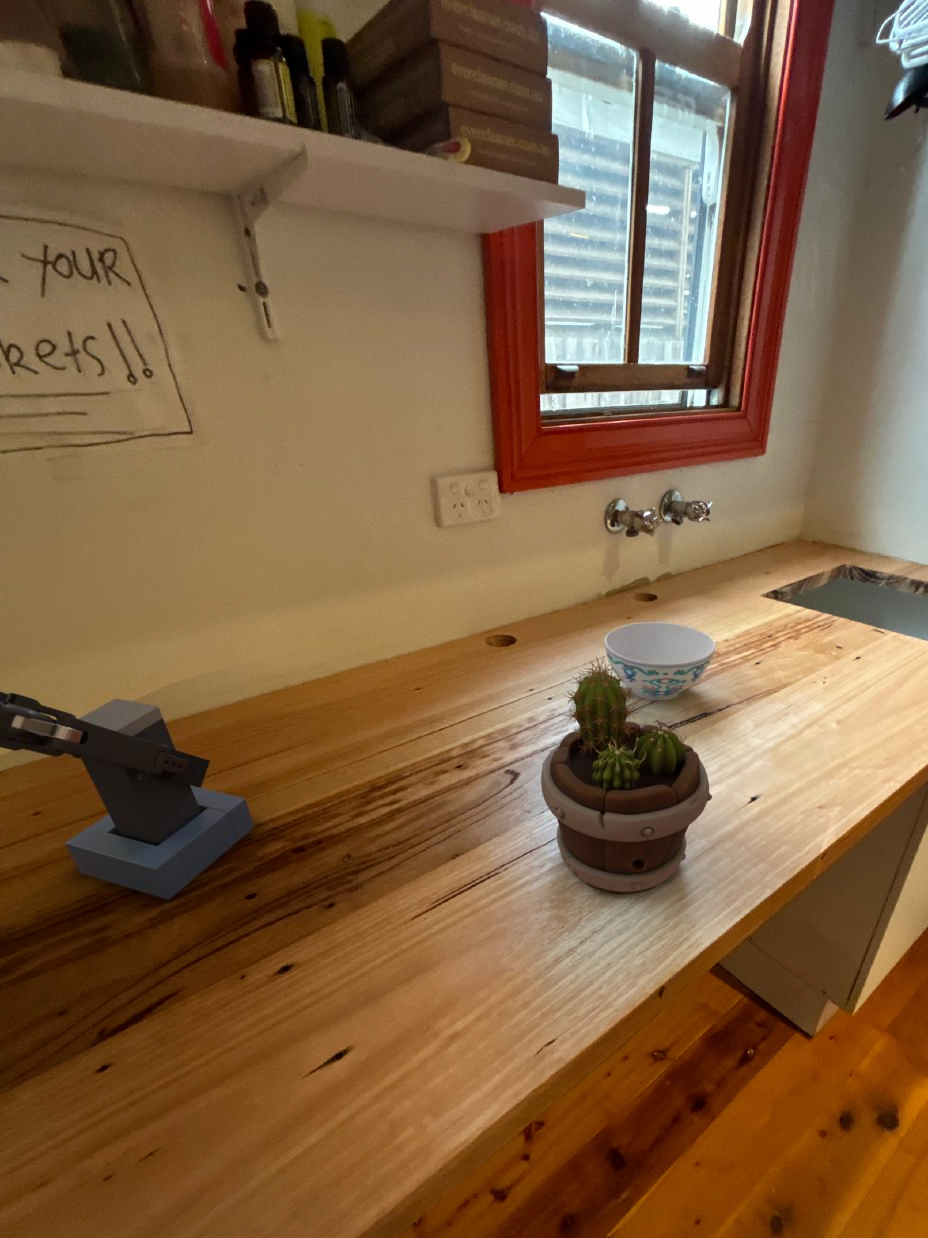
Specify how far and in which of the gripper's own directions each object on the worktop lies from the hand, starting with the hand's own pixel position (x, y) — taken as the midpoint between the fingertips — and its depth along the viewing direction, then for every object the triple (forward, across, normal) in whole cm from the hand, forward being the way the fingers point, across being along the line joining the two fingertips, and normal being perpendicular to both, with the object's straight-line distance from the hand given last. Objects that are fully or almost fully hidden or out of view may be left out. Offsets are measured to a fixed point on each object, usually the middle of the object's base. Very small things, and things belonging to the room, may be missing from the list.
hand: (178, 768), depth 62 cm
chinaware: (+37, +38, +27) cm, 60 cm away
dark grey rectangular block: (0, 0, -6) cm, 6 cm away
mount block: (+3, 0, -8) cm, 8 cm away
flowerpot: (+12, +42, +1) cm, 44 cm away
